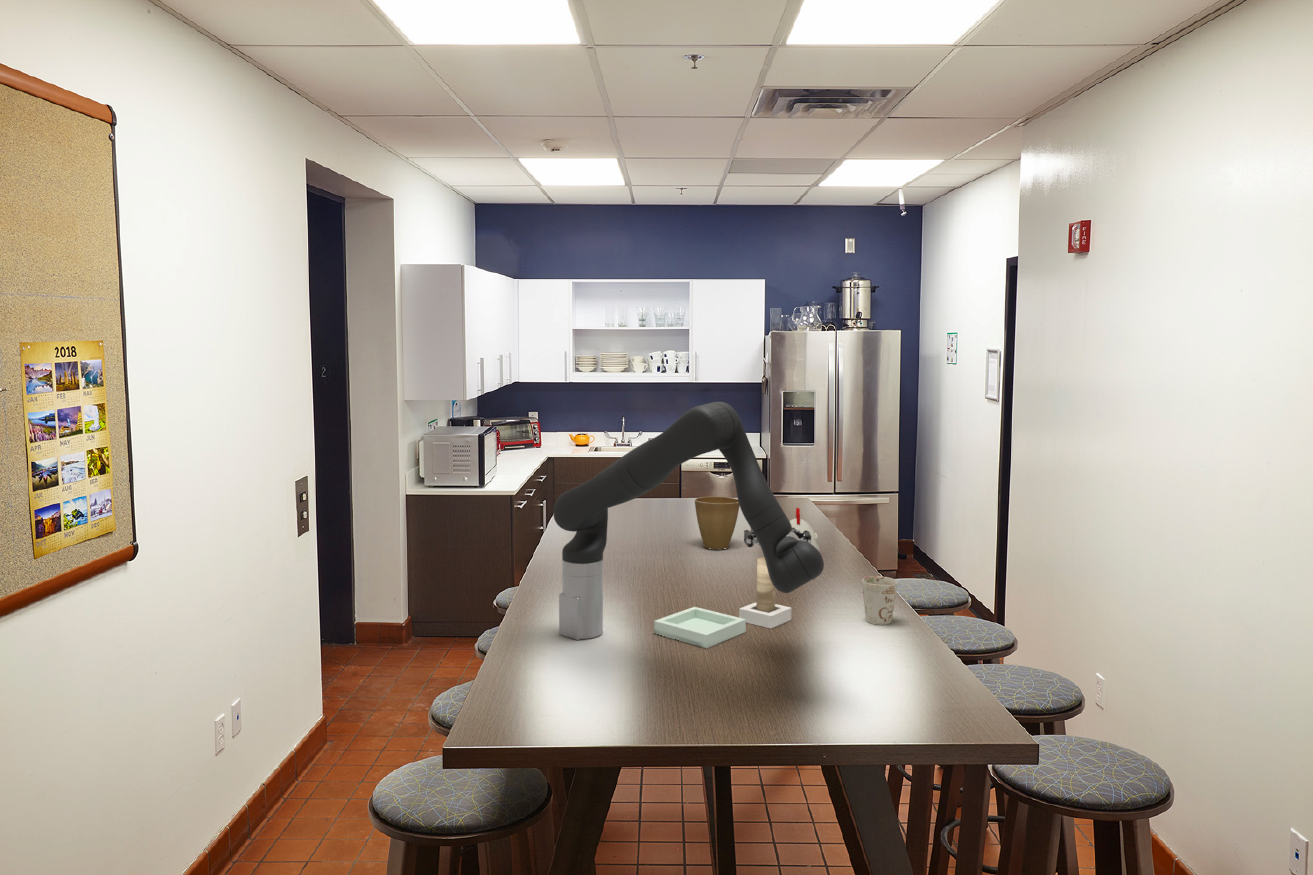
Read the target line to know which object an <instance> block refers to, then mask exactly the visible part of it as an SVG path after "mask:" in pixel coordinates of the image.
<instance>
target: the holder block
mask: <svg viewBox="0 0 1313 875" xmlns="http://www.w3.org/2000/svg"><path fill="white" fill-rule="evenodd" d="M792 610H793V609H792V607H790V606H786V605H781V604H777V603H775V611H772V612H770V613H767V612H763V611H759V610H756V601H755V602H753V603H750V604H747V605H745V606H743V607H740V608H739V614H738V618H742V619H746V624H751V625H755V626H759V627H763V628H766V629H773V628H776V627H778V626H780V625H783V624H785V623H787V622H790V621H792Z"/></svg>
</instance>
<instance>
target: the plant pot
mask: <svg viewBox="0 0 1313 875" xmlns="http://www.w3.org/2000/svg"><path fill="white" fill-rule="evenodd" d="M694 507H695V513H696V518H697V525H698V528H699V534H700V536H701V540H702V543H703V546H704V548H705V547H706V548H705V549H707V548H711V549H724V548H727V549H728V547H729V545H730V543H731V540H732V537H733V534H734V531H735V528H736V524H737V519H738V516H739V511H740V505H739V502H738V498H734V497H727V496H700V497H696V498H694ZM711 549H710V550H711ZM724 550H725V549H724Z"/></svg>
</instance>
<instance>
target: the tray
mask: <svg viewBox="0 0 1313 875" xmlns="http://www.w3.org/2000/svg"><path fill="white" fill-rule="evenodd" d="M746 627H747V623H746V619H742V618H739V616H734V615H729V614H726V613H721V612H717V611H714V610H710V609H706V608H705V609H704V608H701V607H697V606H693V607H690V608H687V609H685V610H682V611H678V612H675V613H672V614H670V615H667V616H663V617H662V618H659V619H655V620H654V621H653V634H654V633H656V634H655V635H657V634H659V635H658V636H660V635H662V636H661V637H664V636H665V637H664V638H668V639H671V640H675V639H676V640H675V641H678V640H679V642H682V643H686V644H688V645H693V646H697V647H700V648H703V649H709V648H711V647H714V646H716V645H718V644H720V643H723V642H725V641H727V640H730V639H733V638H734V637H737V636H739V635H741V634H744V633H746Z"/></svg>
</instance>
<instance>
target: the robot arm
mask: <svg viewBox="0 0 1313 875" xmlns="http://www.w3.org/2000/svg"><path fill="white" fill-rule="evenodd" d="M713 451H714V452H715V451H720V453H721V455H722V456H723V457H724V459H725V460H726V462H727V463H728V466H729V468H730V470H731V472H732V476H733V479H734V480H733V481H734V483H735V484H734V485H735V490H736V491H735V492H736V497H737V499H738V502H739V505H740V506H739V509H740V510H741V513H742V514H743V517H744V519H745V520H746V522H747V524H748V525H749V527H750V530H748V529H745V530H743V543H744V544H745V545H746V547H748V548H752V547H753V546H755V544H758V546H760V548H761V552H762V554H763V557H764V558H765V561H766V565H767V569H768V573H769V577H770V580H771V582H772V584H773V586H774V587H775V590H777V591H779V592H780V593H783V594H789V593H791V592H793V591H795V590H797V589H798V588H800V587H802V586H804V585H806V584H807V583H809V582H811V581H813V580H815V579H817V578H818V577H819V576H820V575H821V574H822V572H823V570H824V567H825V562H824V559H823V556H822V553H821V551H820V550H819V551H818V550H817V549H816V548H815V547H814V546H813V545H812V544H811V535H810V533H809V531H803V533H801V532H800V530H797V529H795V528H792V526H791V523H790V521H791V520H790V519H789V518H788V516H787V515H786V513H785V511H784V510H783V508H782V506H781V504H780V503H779V501H778V500H777V498H776V496H775V495H774V493H773V490H772V489H771V487H770V486H769V484H768V483H767V480H766V478H765V475H764V474H763V472H762V471H763V470H762V468H761V467H760V464H759V461H758V460H757V457H756V455H755V453H754V450H753V448H752V445H751V443H750V441H749V437H748V436H747V433H746V430H745V428H744V425H743V423H742V421H741V418H740V417H739V414H738V413H737V411H736V410H735V409H734V407H732V405H730V404H729V403H727V402H725V401H713V402H709V403H704V404H701V405H697V406H694V407H692V408H691V409H689V410H687V411H686V412H685V413H684V414H683V415H681V416H680V417H679V418H678V419H677V420H675V421H674V422H673V423H672V424H671V425H670V426H669V427H668V428H667V429H666V430H664V431H663V432H661V433H660V434H659V435H657V436H656V437H653V438H651V439H649V440H647V441H646V442H643V443H642V444H639V446H637V447H635V448H633V449H632V450H630V451H628V452H627V453H625V454H624V455H623V456H621V457H619V458H618V459H617V460H615V461H614V462H613V463H612V464H610V465H609V466H607V467H606V468H604V469H602V470H601V471H600V472H598V474H596V475H595V476H593V477H592V478H590V479H589V480H587V481H585V482H583V483H581V484H580V485H577V486H575V487H573V488H570V489H568V490H567V491H564V492H562V494H560V495H559V496H558V497H557V499H556V501H555V503H554V506H553V510H552V514H553V519H554V521H555V524H556V525H557V526H558V527H559V528H561V529H562V530H564V531H567V532H576V533H575V534H574V536H573V538H572V539H571V540H570V541H568V542H567V543H566V544H564V546H563V548H562V552H561V553H562V554H561V556H562V557H561V558H562V562H561V564H562V565H561V566H562V568H561V570H562V572H561V573H562V574H561V577H562V578H561V579H562V584H561V585H562V586H561V587H562V588H561V589H562V590H561V591H562V592H560V593H559V594H558V625H559V626H558V634H559V635H560V636H563V637H567V638H570V639H574V640H576V641H579V640H582V639H583V640H584V639H585V640H586V639H594V638H596V637H599V636H601V635H602V634H603V632H604V622H603V620H604V594H603V593H604V576H603V575H604V552H605V549H606V546H607V540H608V520H609V513H608V511H609V509H608V508H612V507H615V506H618V505H622V504H624V503H628V502H630V501H633V500H634V499H637V498H640V497H642V496H644V495H645V494H647V493H649V492H650V491H651V490H653V489H655V488H657V487H659V486H660V485H661V484H663V483H664V482H665V481H666V480H667V479H668V478H669V476H671V473H673V471H674V470H675V469H676V468H678V467H679V466H680V465H681V464H683V463H686V462H688V461H690V460H691V459H692V460H693V458H697V457H699V456H701V455H704V454H707V453H708V454H709V453H710V452H713Z"/></svg>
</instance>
